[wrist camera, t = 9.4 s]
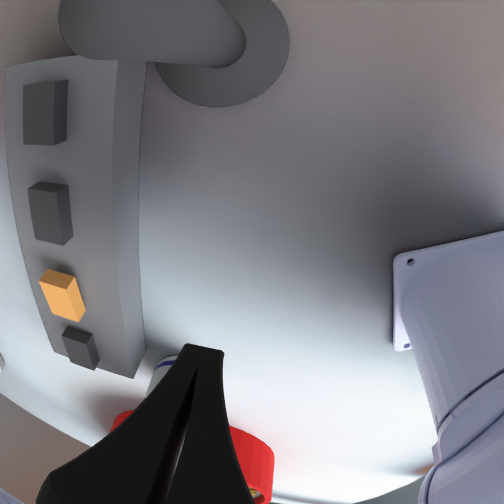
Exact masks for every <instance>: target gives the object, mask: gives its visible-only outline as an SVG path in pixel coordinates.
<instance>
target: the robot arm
mask: <svg viewBox="0 0 504 504" xmlns="http://www.w3.org/2000/svg"><path fill="white" fill-rule="evenodd" d="M409 259H413V260H412V261H411V262H409V263H407V261H408V260H409ZM393 285H394V319H393V348H394V350H395V351H397V352H400V351H404V350H408V349H413V352H414V355H415V358H416V361H417V365H418V368H419V371H420V374H421V377H422V380H423V384H424V387H425V390H426V394H427V397H428V401H429V404H430V408H431V412H432V415H433V419H434V423H435V427H436V431H437V435H438V441H437V443H436V444H435V445H434V446H433V447H432V452H433V456H434V461H435V465H434V466H433V467H432V468H431V469H430V471H429V472H428V474H427V475H426V477H425V479H424V481H423V483H422V486H421V489H420V492H419V498H418V504H504V231H500V232H495V233H491V234H487V235H483V236H478V237H474V238H469V239H465V240H461V241H456V242H452V243H447V244H443V245H438V246H433V247H429V248H424V249H419V250H415V251H410V252H405V253H401V254H398V255H397V256H395V258H394V259H393ZM223 358H224V352H223V351H222V350H217V349H212V348H207V347H203V346H198V345H193V344H189V343H187V344H185V345H184V346H183V348H182V350H181V352H180V353H179V355H178V357H177V358H176V360H175V361H174V363H173V364H172V366H171V367H170V368H169V370H168V371H167V373H166V374H165V375H164V376H163V378H162V379H161V380H160V382H159V383H158V384H157V385H156V387H155V388H154V389H153V390H152V392H151V393H150V394H149V395H148V396H147V397H146V398H145V399H144V400H143V402H142V403H141V404H140V405H139V406H138V407H137V408H136V409H135V410H134V411H133V412H132V413H131V414H130V415H129V416H128V417H127V418H126V419H125V420H124V421H123V422H122V423H121V424H120V425H119V426H117V427H116V428H115V429H114V430H113V431H111V432H110V433H109V434H108V435H107V436H106V437H104V438H103V439H102V440H100V441H99V442H98V443H97V444H95V445H94V446H92V447H91V448H89V449H88V450H87V451H85V452H84V453H82V454H81V455H79V456H78V457H76V458H75V459H73V460H71V461H70V462H68V463H66V464H64V465H62V466H61V467H59V468H57V469H55V470H54V471H52V472H50V474H49V475H48V476H47V478H46V480H45V481H44V483H43V484H42V486H41V489H40V491H39V494H38V496H37V499H36V504H256V503H255V501H254V499H253V497H252V495H251V492H250V490H249V487H248V485H247V483H246V480H245V477H244V475H243V472H242V470H241V467H240V464H239V461H238V458H237V455H236V451H235V448H234V444H233V441H232V437H231V432H230V428H229V423H228V418H227V413H226V407H225V399H224V391H223ZM183 441H184V442H183ZM182 444H183V445H182ZM181 447H182V449H181ZM180 450H181V452H180ZM179 453H180V456H179ZM178 456H179V459H178ZM177 460H178V463H177ZM176 463H177V466H176ZM175 468H176V470H175ZM174 472H175V473H174ZM0 504H24V503H23V502H21V501H19V500H18V499H16V498H15V497H13V496H11V495H10V494H8V493H7V492H5V491H4V490H2V489H1V488H0Z"/></svg>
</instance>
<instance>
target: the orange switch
mask: <svg viewBox="0 0 504 504" xmlns="http://www.w3.org/2000/svg"><path fill="white" fill-rule="evenodd" d="M39 283H40V285H41V288H42V290H43V293H44V295H45V297H46V300H47V302H48V304H49V306H50V309H51V311H52V313H53V314H55V315H58V316H61V317H64V318H67V319H70V320H73V321H76V322H79V321H80V320H81V318H82V316H83V314H84V312H85V310H86V309H85V306H84V303H83V300H82V297H81V294H80V291H79V288H78V285H77V282H76V279H75V277H74V276H71V275H67V274H64V273H60V272H57V271H53V270H50V269H47V270H46V272H45V273H44V274H43V276H42V277H41V278H40V280H39Z"/></svg>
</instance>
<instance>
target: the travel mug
mask: <svg viewBox="0 0 504 504" xmlns="http://www.w3.org/2000/svg"><path fill="white" fill-rule="evenodd" d="M3 367H4V360H3V358H2V356H1V354H0V372H1V370H2V369H3Z"/></svg>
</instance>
